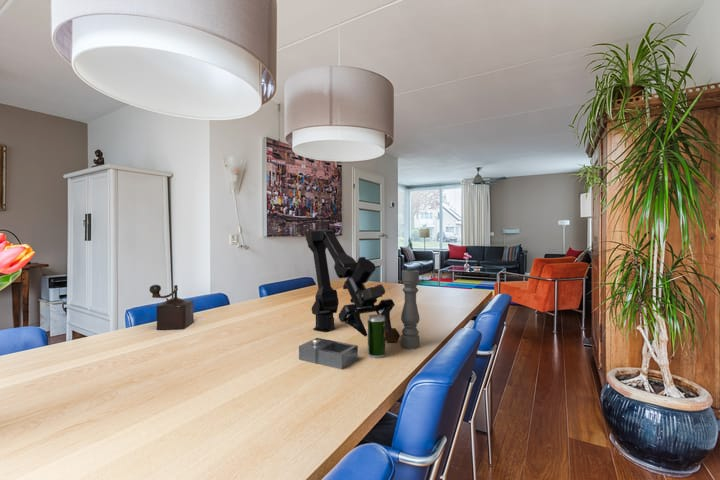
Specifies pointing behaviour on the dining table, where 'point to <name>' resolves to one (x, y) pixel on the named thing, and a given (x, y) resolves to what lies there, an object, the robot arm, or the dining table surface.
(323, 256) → the robot arm
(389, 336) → the bolt
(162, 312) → the manual coffee grinder
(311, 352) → the jig
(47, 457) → the dining table surface
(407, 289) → the turned furniture leg
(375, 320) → the beer can
